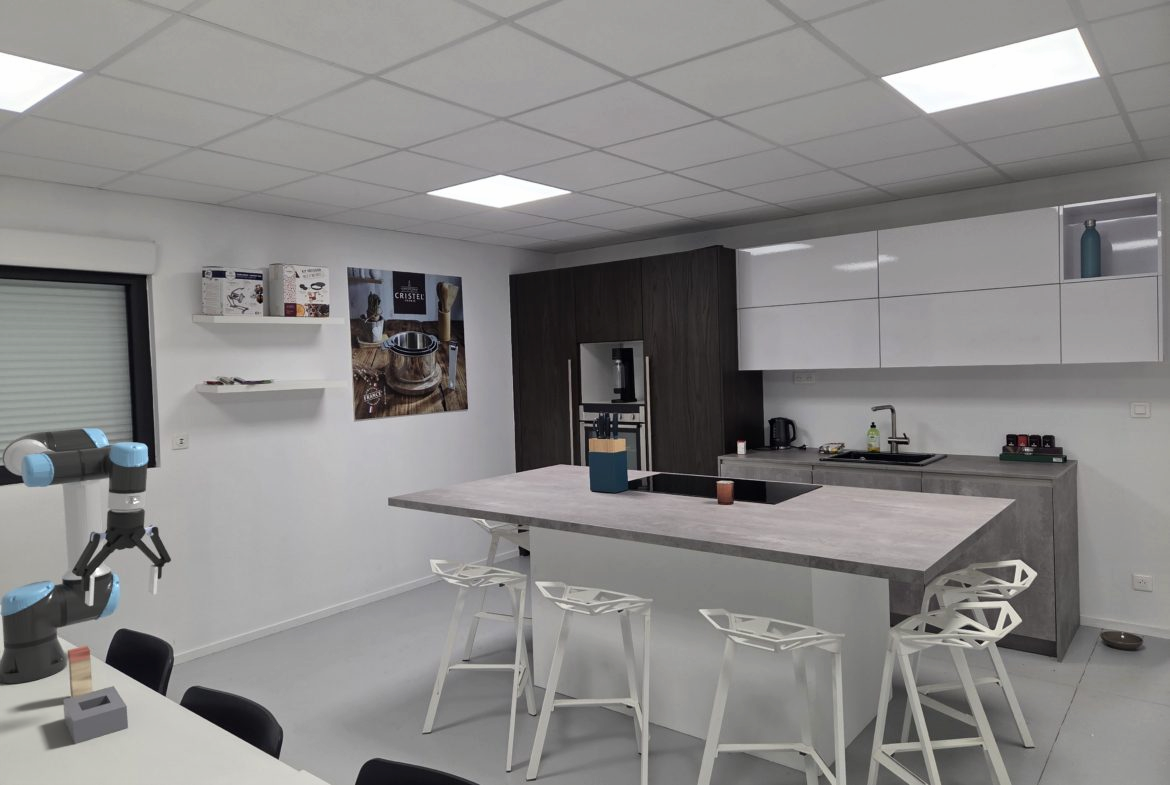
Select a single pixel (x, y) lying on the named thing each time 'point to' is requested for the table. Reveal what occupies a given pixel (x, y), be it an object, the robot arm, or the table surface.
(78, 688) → the plug peg
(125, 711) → the socket block
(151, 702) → the table surface
